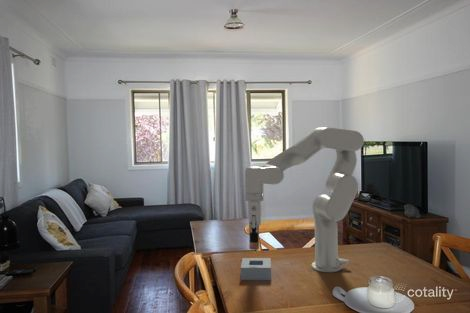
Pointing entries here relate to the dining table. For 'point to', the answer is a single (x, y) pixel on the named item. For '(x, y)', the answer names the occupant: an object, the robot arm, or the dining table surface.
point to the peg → (254, 245)
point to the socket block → (256, 269)
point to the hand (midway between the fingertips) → (254, 240)
